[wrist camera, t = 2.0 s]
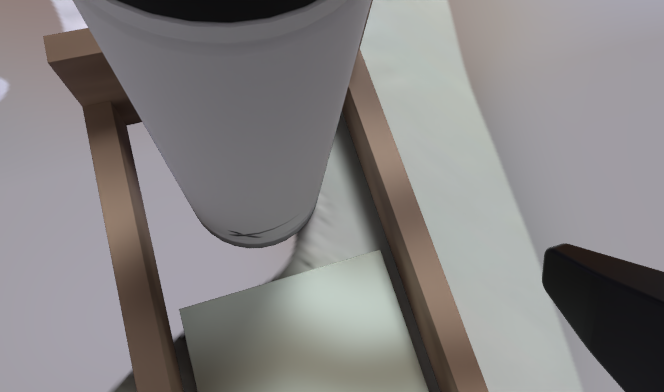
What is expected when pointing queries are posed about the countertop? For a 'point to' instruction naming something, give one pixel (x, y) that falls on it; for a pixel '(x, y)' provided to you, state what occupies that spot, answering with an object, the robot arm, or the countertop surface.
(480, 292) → the countertop surface
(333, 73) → the travel mug
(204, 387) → the shelf lane
